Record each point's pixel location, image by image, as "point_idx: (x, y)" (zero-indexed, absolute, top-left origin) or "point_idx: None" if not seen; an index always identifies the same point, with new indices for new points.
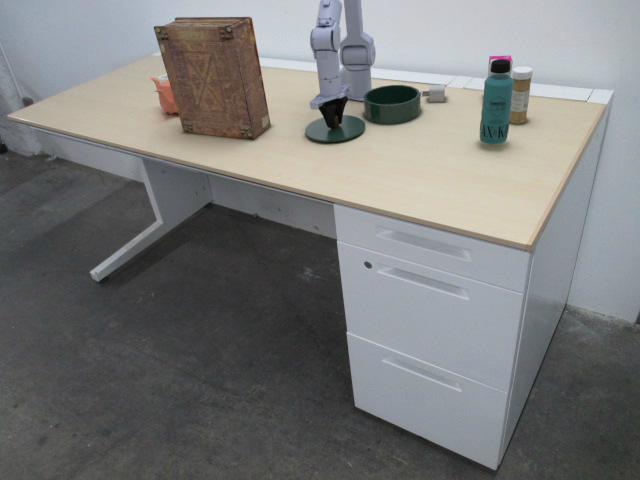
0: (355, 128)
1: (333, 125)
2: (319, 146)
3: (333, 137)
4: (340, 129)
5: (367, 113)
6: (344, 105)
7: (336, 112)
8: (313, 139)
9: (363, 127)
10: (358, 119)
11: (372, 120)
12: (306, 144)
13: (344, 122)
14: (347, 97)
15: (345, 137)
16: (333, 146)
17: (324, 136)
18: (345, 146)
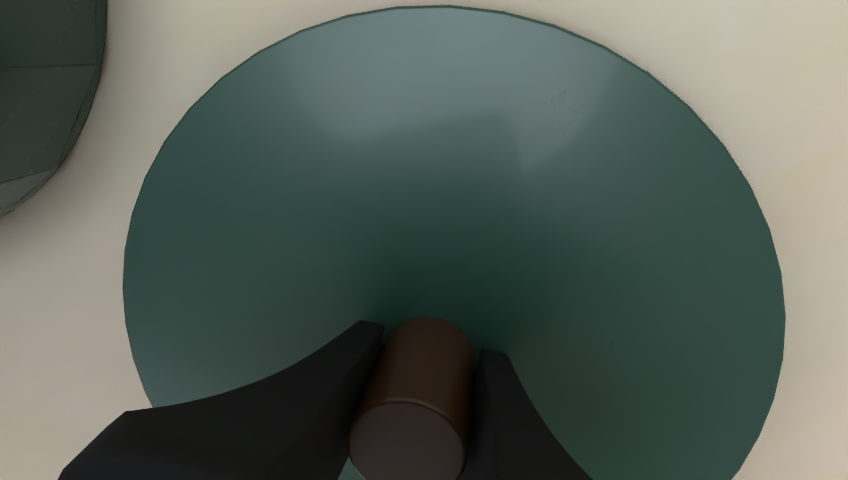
0: (392, 115)
1: (506, 364)
2: (817, 334)
3: (697, 257)
4: (469, 275)
5: (22, 144)
6: (241, 404)
7: (332, 447)
8: (745, 443)
9: (335, 27)
10: (168, 197)
11: (91, 48)
12: (785, 466)
13: (292, 310)
14: (91, 454)
15: (669, 114)
16: (799, 191)
17: (685, 364)
18: (782, 50)
